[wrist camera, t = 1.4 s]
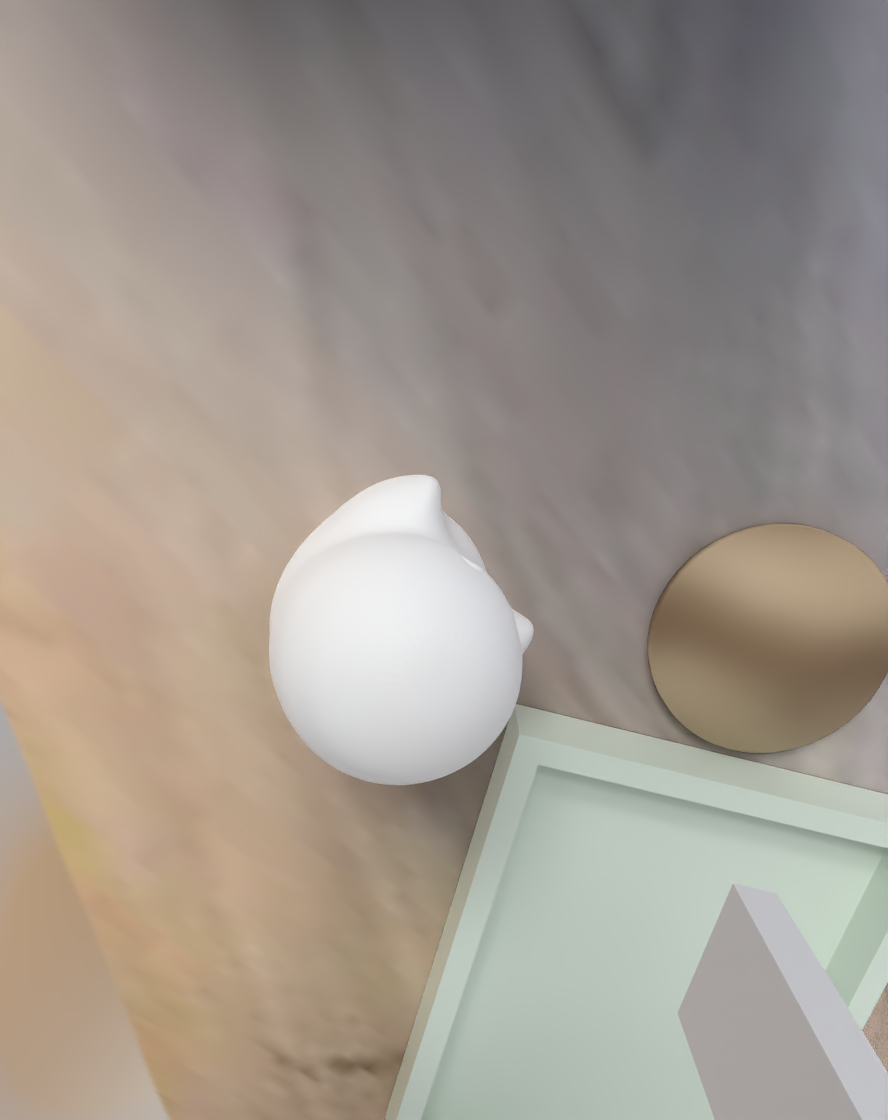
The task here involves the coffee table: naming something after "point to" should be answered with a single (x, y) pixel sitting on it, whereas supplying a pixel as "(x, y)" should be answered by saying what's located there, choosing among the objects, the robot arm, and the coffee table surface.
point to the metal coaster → (770, 638)
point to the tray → (625, 919)
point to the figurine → (394, 639)
